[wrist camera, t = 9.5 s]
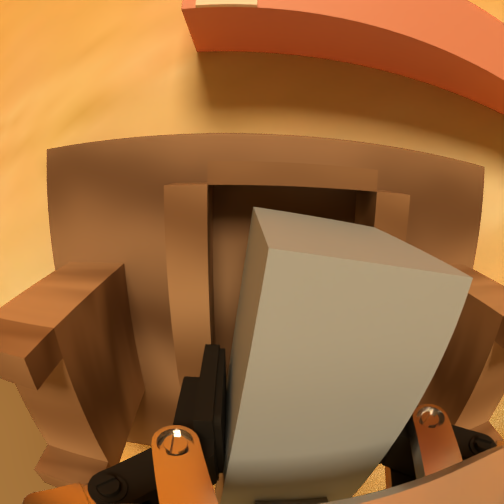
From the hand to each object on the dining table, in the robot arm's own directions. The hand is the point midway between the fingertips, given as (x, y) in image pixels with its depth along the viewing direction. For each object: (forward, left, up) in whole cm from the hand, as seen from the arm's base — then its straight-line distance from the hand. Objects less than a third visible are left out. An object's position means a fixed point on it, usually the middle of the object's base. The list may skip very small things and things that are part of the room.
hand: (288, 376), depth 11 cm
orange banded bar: (-15, +6, -4) cm, 17 cm away
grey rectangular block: (0, 0, -1) cm, 1 cm away
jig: (0, 0, -4) cm, 4 cm away
